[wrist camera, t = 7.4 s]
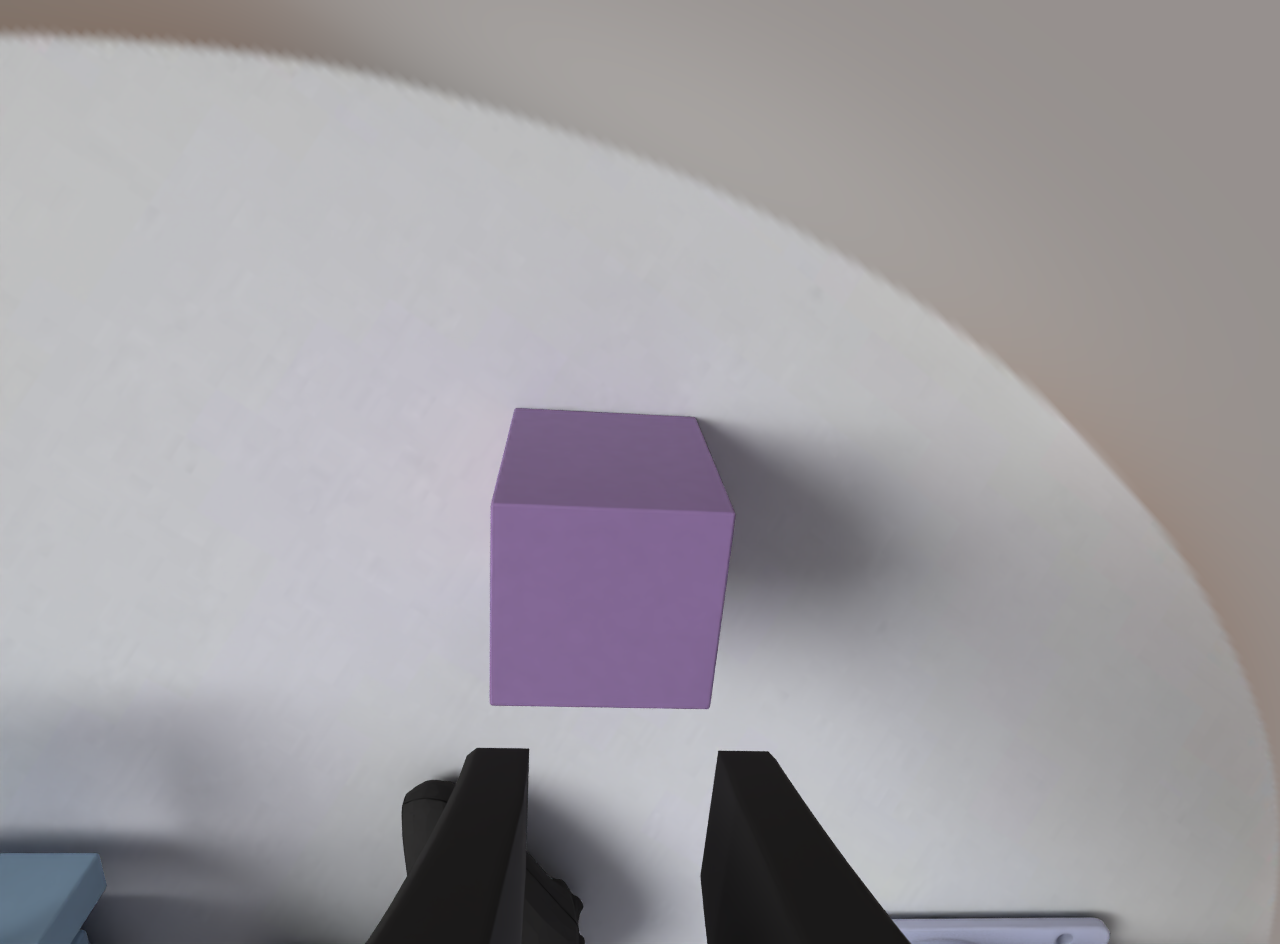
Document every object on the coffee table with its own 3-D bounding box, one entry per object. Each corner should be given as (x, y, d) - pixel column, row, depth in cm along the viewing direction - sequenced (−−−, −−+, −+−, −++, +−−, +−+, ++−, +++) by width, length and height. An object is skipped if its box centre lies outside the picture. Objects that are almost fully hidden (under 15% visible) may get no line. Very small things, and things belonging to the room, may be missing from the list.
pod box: (696, 416, 18) (736, 513, 13) (679, 573, 19) (710, 710, 15) (514, 407, 17) (490, 503, 13) (511, 568, 19) (489, 706, 14)
